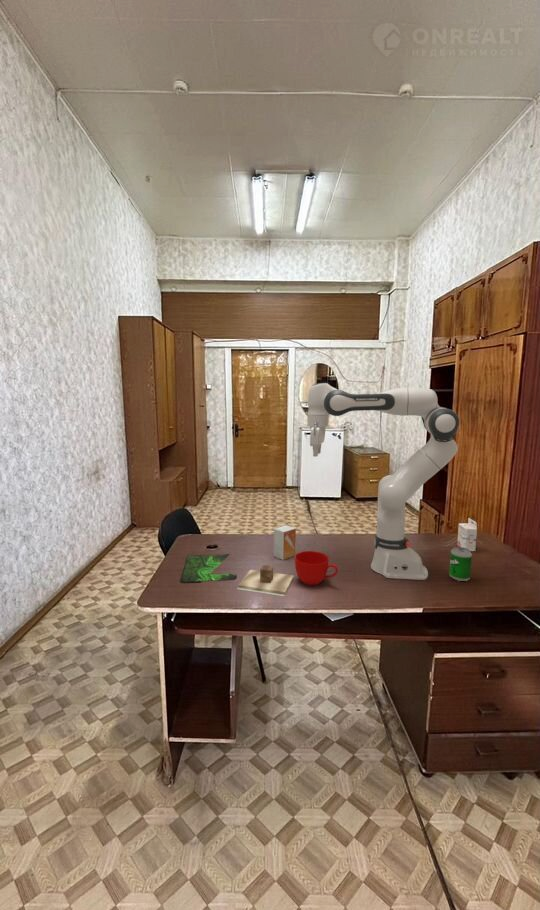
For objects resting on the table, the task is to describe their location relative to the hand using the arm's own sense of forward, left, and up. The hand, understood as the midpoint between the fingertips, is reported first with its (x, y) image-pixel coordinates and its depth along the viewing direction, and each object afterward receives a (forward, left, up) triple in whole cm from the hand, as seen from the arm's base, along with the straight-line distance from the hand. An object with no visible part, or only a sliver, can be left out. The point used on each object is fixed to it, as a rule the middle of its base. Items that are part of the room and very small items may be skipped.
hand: (316, 454), depth 161 cm
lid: (+14, +27, -47) cm, 56 cm away
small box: (+14, -1, -47) cm, 49 cm away
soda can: (-58, 0, -47) cm, 75 cm away
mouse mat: (+41, +20, -48) cm, 66 cm away
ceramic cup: (-4, +21, -47) cm, 52 cm away
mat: (+14, +27, -47) cm, 56 cm away
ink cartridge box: (-67, -35, -47) cm, 89 cm away
